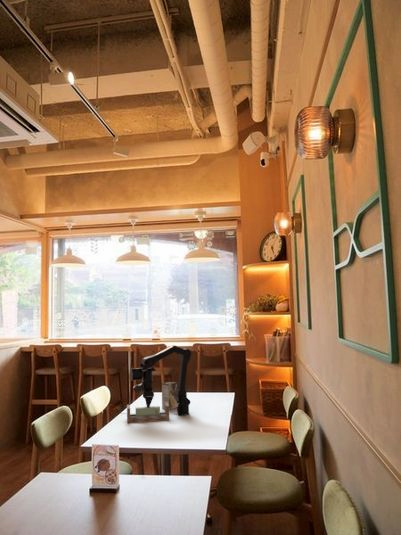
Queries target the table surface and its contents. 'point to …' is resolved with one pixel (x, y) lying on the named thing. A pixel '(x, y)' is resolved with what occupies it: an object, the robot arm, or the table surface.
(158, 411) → the door panel
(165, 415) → the cabinet base
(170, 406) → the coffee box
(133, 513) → the table surface
